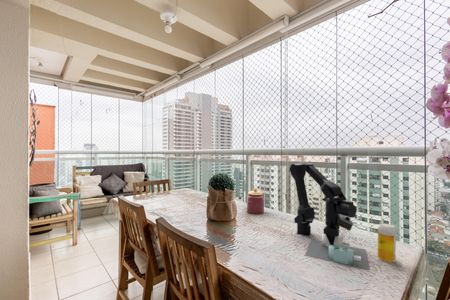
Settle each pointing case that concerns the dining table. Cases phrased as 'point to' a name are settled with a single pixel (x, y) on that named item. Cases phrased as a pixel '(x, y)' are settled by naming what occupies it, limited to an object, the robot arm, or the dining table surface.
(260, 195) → the canister
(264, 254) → the dining table surface
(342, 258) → the teal connector
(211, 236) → the dining table surface
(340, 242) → the white rounded piece
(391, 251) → the beer can
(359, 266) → the rubber mat
